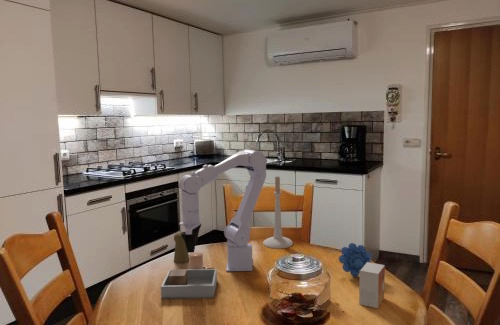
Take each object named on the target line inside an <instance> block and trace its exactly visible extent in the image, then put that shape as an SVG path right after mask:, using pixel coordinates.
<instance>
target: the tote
mask: <svg viewBox="0 0 500 325" xmlns="http://www.w3.org/2000/svg"><path fill="white" fill-rule="evenodd" d="M172 270H173V269H168V271H167V274H166V275H165V277H164V279H163V281H162V283H161V286H160V295H161V296H160V297H161V300H171V299H172V300H174V299H175V300H178V299H183V300H184V299H185V300H186V299H214V297H215V292H216V288H217V283H218V270H217V268H203V269H190V268H187V269H185V268H184V269H183V268H182V269H181V270H187V283H188V284H187V285H176V286H169V275H170V273H171V271H172Z"/></svg>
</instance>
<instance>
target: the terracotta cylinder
mask: <svg viewBox="0 0 500 325" xmlns="http://www.w3.org/2000/svg"><path fill="white" fill-rule="evenodd" d="M188 254H189V261H188V262H189V263H188V264H189V266H188V267H189V269H204V256H203V253H202V252H199V251H198V252H196V251H194V252H193V253H188Z"/></svg>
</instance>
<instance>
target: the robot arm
mask: <svg viewBox="0 0 500 325" xmlns="http://www.w3.org/2000/svg"><path fill="white" fill-rule="evenodd" d="M267 163H268V159H267V157H266V155H265V153H264V152H263V151H261V150H253V149H250V148H245V149H242V150H239V151H237V152H236V153H235V154H233V155H231V156H229V157H228V158H226V159H224V160H222V161H221V162H219V163H218V164H215V165H212V164H204V165H202V168H200V169H198V170H196V171H191V172H190V174H185V175H183V176H182V177H181V178H180V180H179V182H178V187H179V188H180V190H181V208H182V209H181V210H182V221H180V222H179V226H182V227H183V228H184V230H185V231H181V232H182V233H181V236H182V238H183V239H184V241H185V244H186V248H187V252H188V254H191V253H195V250H196V246H197V244H198V239H199V233H200V229H201V227H202V223H201V221H200V219H201V218H200V198H199V191H200V190H201V188H203V187H205V186H207V185H209V184H211V183H212V182H214V181H216V180H217V179H218V178H219V176H220V174H222V173H225V172H227V171H229V170H231V169H233V168H235V167H238V166H242V167H244V168H245V169H246V170H247V172H248V174H249V180H248V182H247V186H246V188H245V191H244V194H243V195H242V198H241V201H240V204H239V207H238V209H237V210H236V211H237V212H236V214H235V216H234V217H233V218H231V219H230V221H229V223H228V224H227V225H226V226H225V228H224V231H223V234H224V237H225V238H226V239H227V240H226V241H227V242H226V243H227V244H226V248H227V252H226V254H227V262H226V269H225V271H226V272H253V264H254V258H253V244H252V243H249V241H250V237H251V236H250V233H251V230H252V226H251V224H250V221H251V218H252V216H253V213H254V210H255V207H256V205H257V203H258V199H259V197H260V194H261V192H262V188H263V187H264V184H265V180H266V178H267Z"/></svg>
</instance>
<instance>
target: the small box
mask: <svg viewBox="0 0 500 325" xmlns="http://www.w3.org/2000/svg"><path fill="white" fill-rule="evenodd" d="M370 262H371V261H370ZM370 262H367V263H366V264H365V265H364V267H363V268H362V269H361V270H360V273H359V282H358V283H359V289H358V290H359V292H358V294H359V295H358V304H359V305H361V306H366V307H369V308H374V309H379V308H380V305H381V304H382V302H383V300H384V299H385V277H386V276H385V275H386V272H385V271H386V265H385V264H380V263H374V262H371V263H370ZM383 298H384V299H383ZM380 303H381V304H380Z"/></svg>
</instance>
